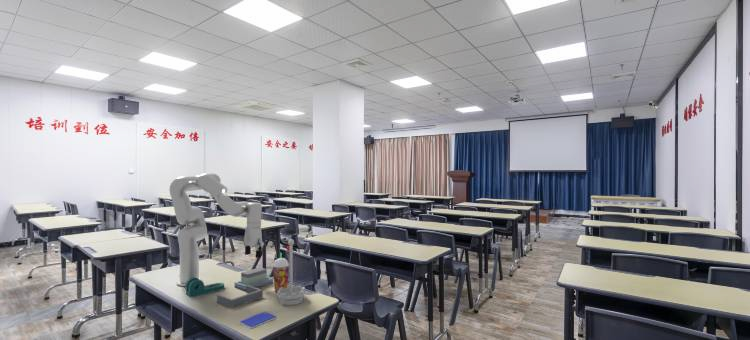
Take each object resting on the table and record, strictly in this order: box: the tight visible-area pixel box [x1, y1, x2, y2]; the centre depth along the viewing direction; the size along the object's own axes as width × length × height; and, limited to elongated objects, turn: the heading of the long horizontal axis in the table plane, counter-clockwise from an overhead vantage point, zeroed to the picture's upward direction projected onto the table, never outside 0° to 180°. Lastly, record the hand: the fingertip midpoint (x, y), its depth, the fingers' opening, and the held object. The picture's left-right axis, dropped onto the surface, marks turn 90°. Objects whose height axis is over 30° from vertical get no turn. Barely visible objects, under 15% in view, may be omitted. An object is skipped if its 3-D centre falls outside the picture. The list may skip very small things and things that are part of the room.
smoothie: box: [272, 252, 290, 293], centre depth 185 cm, size 8×8×20 cm
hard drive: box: [238, 311, 277, 329], centre depth 149 cm, size 2×8×12 cm
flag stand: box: [276, 238, 306, 306], centre depth 171 cm, size 13×13×30 cm
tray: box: [234, 276, 274, 292], centre depth 194 cm, size 11×17×2 cm, turn 144°
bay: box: [216, 285, 264, 309], centre depth 172 cm, size 12×17×4 cm
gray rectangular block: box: [240, 267, 268, 286], centre depth 194 cm, size 6×12×7 cm, turn 144°
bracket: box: [185, 277, 225, 298], centre depth 184 cm, size 18×7×8 cm, turn 134°
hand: (253, 255), depth 194 cm, fingers open, 9 cm apart
